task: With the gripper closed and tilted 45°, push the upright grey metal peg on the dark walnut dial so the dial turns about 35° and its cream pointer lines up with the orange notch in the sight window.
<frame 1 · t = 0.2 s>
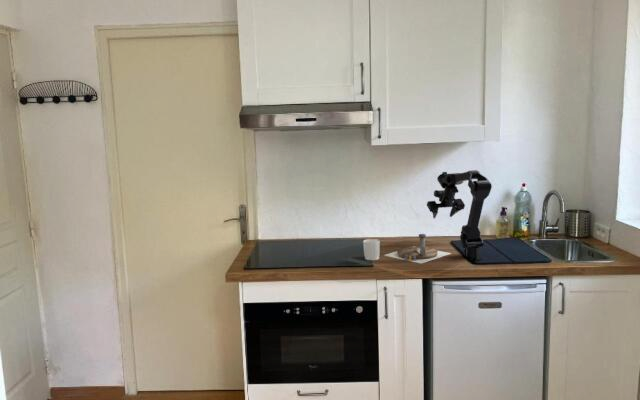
hand: (442, 217, 263), 15 cm above the counter, tool tilted 35°, fingers open, 9 cm apart
white cup: (372, 261, 241), on the counter
dial: (417, 242, 243), point 7 cm above the counter, hinge at 0.0°
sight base: (417, 257, 244), on the counter
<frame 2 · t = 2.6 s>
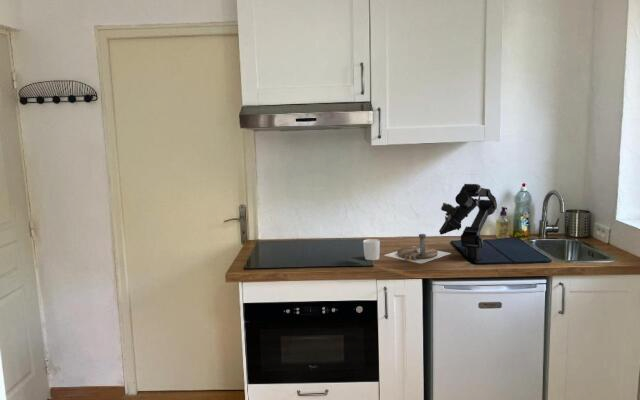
hand: (440, 233, 232), 14 cm above the counter, tool tilted 45°, fingers open, 4 cm apart
nothing on the counter moved.
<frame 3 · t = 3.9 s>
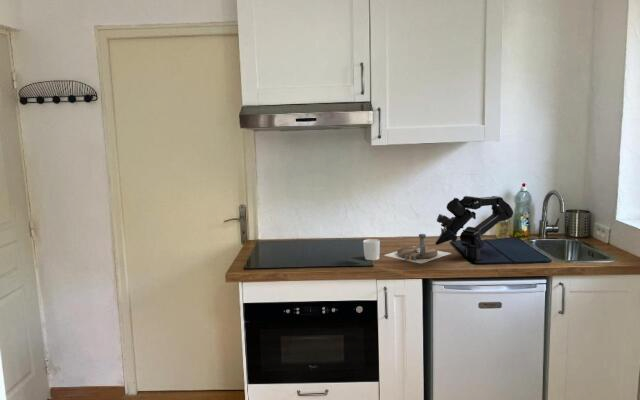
hand: (435, 244, 233), 8 cm above the counter, tool tilted 45°, fingers closed
nothing on the counter moved.
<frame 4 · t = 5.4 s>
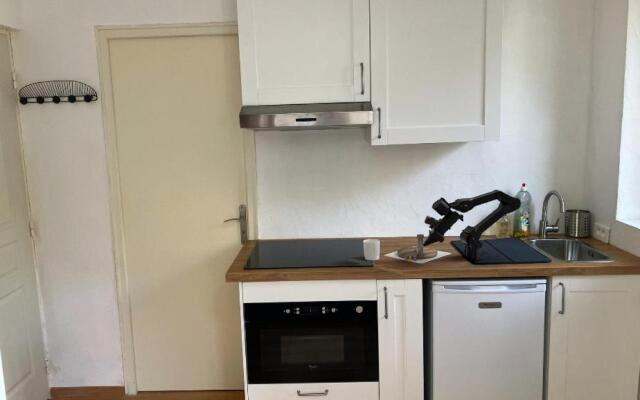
hand: (423, 245, 234), 8 cm above the counter, tool tilted 45°, fingers closed, pressing on dial
dial: (417, 242, 243), point 7 cm above the counter, hinge at 6.8°, touching gripper
everything else where it was.
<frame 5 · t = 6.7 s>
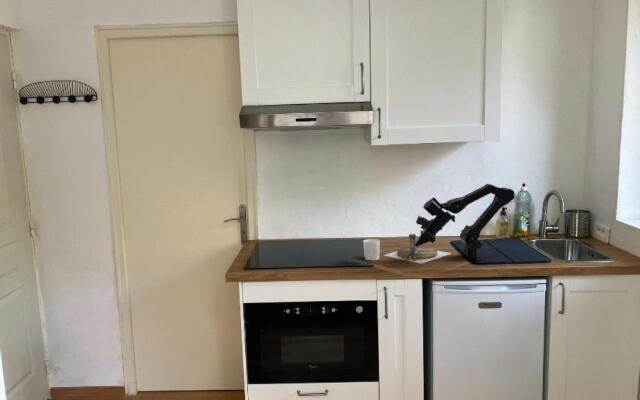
hand: (415, 246, 234), 8 cm above the counter, tool tilted 45°, fingers closed, pressing on dial
dial: (417, 242, 243), point 7 cm above the counter, hinge at 33.7°, touching gripper
everything else where it was.
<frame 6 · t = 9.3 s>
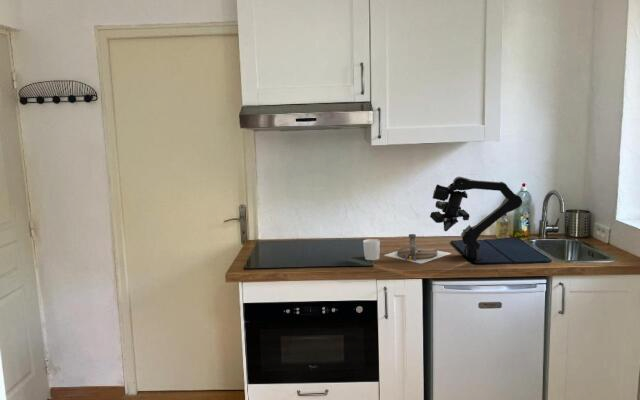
hand: (445, 230, 241), 13 cm above the counter, tool tilted 25°, fingers closed
dial: (417, 242, 243), point 7 cm above the counter, hinge at 33.7°
everything else where it was.
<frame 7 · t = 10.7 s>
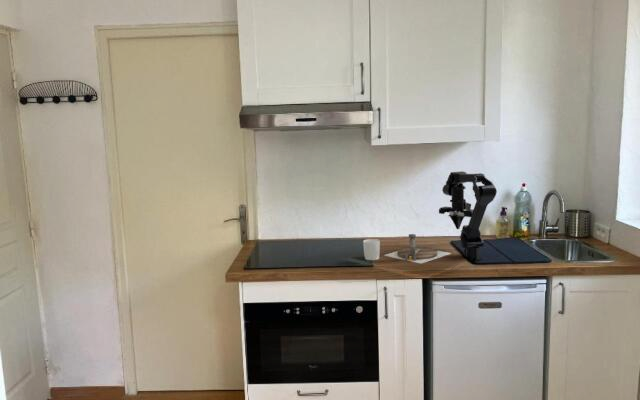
hand: (458, 229, 246), 12 cm above the counter, tool pointing down, fingers closed
nothing on the counter moved.
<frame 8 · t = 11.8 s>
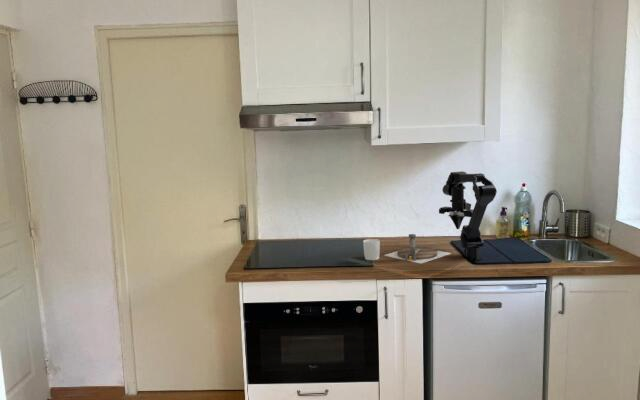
hand: (458, 229, 246), 12 cm above the counter, tool pointing down, fingers closed
nothing on the counter moved.
at the end: dial at +34° (first picture: +0°); white cup moved 0.2 cm from its start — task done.
